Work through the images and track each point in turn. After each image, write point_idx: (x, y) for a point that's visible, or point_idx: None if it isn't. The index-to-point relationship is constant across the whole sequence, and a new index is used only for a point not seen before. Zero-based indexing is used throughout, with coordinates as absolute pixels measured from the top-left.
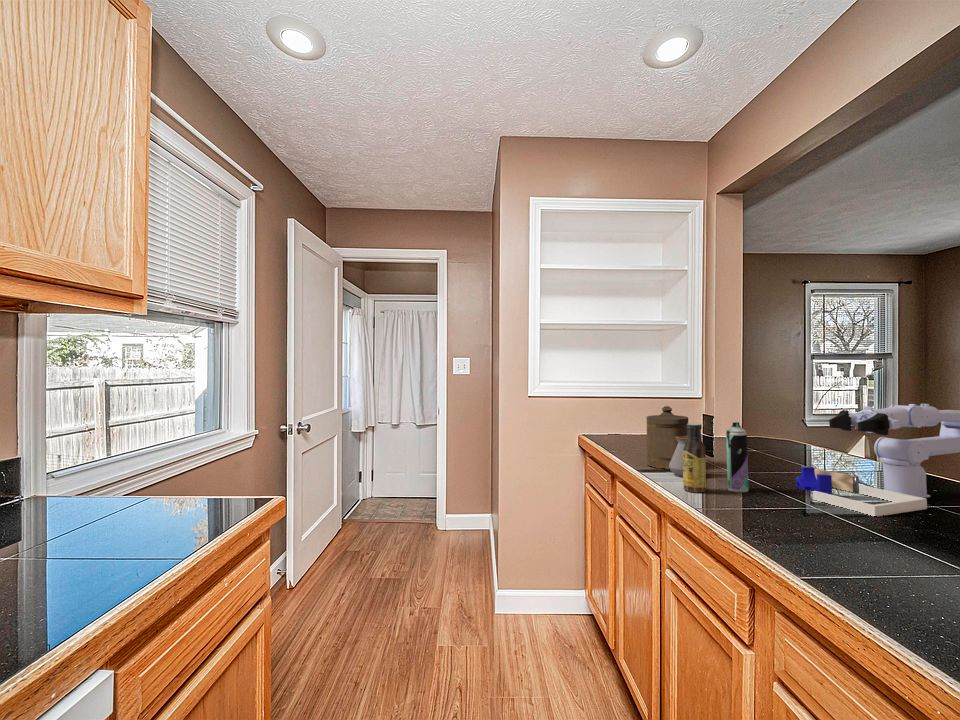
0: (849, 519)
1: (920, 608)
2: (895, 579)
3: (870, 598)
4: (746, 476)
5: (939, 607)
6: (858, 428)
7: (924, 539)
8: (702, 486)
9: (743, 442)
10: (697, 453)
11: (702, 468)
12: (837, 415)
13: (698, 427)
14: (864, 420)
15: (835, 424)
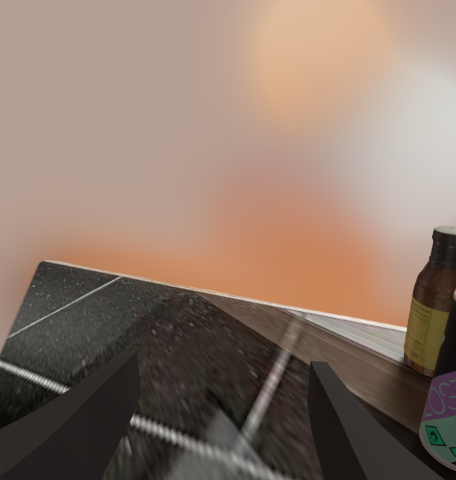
0: (144, 438)
1: (45, 287)
2: (59, 305)
3: (75, 280)
4: (435, 416)
5: (32, 293)
6: (136, 380)
7: None
8: (406, 353)
9: (453, 323)
10: (414, 286)
11: (413, 321)
12: (388, 437)
13: (434, 235)
14: (103, 374)
15: (316, 419)
